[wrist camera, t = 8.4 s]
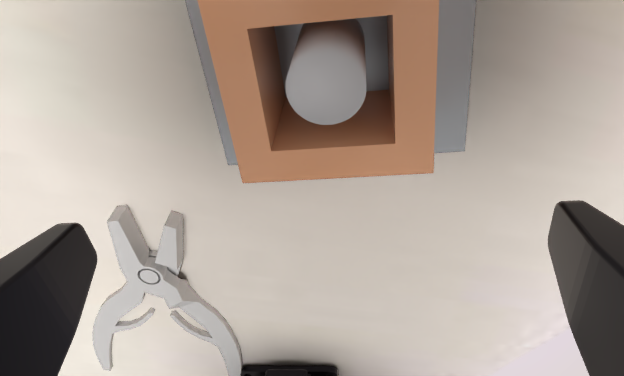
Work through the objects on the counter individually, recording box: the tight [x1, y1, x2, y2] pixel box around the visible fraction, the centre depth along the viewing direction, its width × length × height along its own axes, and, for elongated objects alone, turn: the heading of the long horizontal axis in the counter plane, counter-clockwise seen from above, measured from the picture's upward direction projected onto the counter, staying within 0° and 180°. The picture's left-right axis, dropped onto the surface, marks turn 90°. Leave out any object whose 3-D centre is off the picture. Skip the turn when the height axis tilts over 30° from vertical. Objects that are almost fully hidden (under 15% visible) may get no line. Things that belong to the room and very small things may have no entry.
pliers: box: [93, 205, 242, 376], centre depth 29 cm, size 10×2×15 cm
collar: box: [197, 0, 439, 183], centre depth 16 cm, size 6×6×4 cm
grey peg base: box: [185, 0, 476, 165], centre depth 16 cm, size 10×10×6 cm
